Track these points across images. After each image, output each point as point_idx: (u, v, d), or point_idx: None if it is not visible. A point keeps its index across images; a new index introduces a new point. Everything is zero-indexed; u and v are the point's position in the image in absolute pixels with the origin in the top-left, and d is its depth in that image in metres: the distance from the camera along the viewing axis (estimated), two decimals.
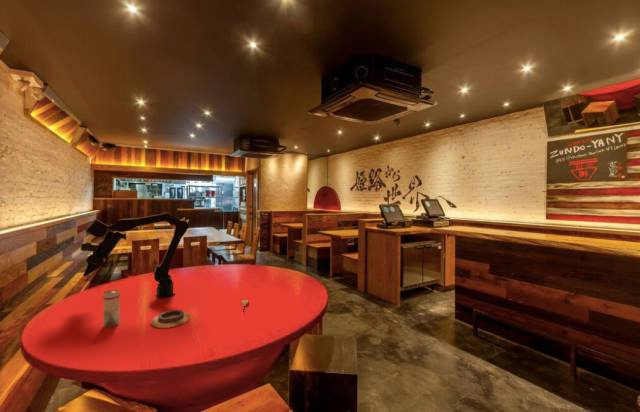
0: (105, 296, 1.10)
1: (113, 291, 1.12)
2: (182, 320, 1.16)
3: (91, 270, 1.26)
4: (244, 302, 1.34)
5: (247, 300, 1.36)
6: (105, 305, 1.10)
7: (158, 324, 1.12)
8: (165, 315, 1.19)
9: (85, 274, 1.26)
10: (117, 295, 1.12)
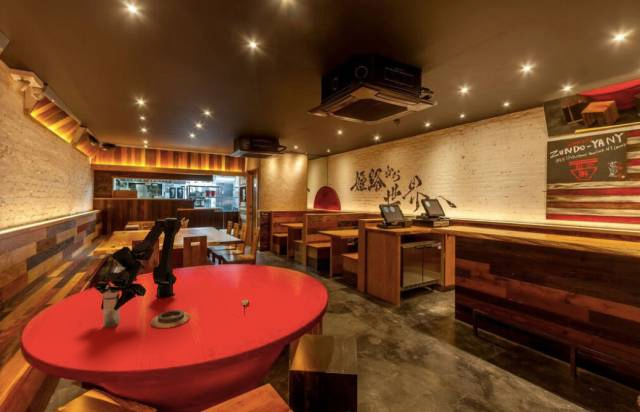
0: (105, 296, 1.10)
1: (113, 291, 1.12)
2: (182, 320, 1.16)
3: (124, 302, 1.14)
4: (244, 302, 1.34)
5: (247, 300, 1.36)
6: (105, 305, 1.10)
7: (158, 324, 1.12)
8: (165, 315, 1.19)
9: (117, 307, 1.11)
10: (117, 295, 1.12)
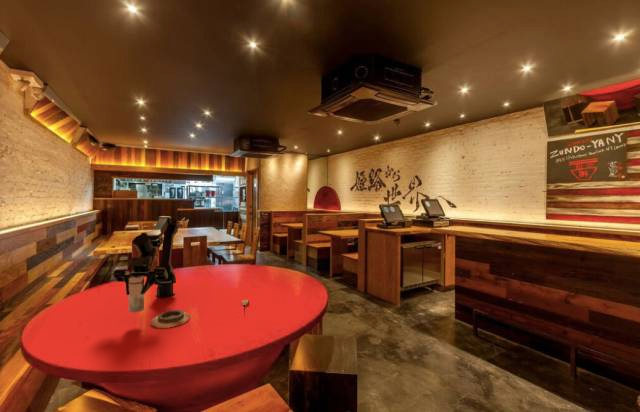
0: (132, 281, 1.10)
1: (138, 276, 1.13)
2: (182, 320, 1.16)
3: (149, 287, 1.15)
4: (244, 302, 1.35)
5: (247, 300, 1.36)
6: (132, 290, 1.10)
7: (158, 324, 1.12)
8: (165, 315, 1.19)
9: (144, 291, 1.12)
10: (143, 280, 1.13)
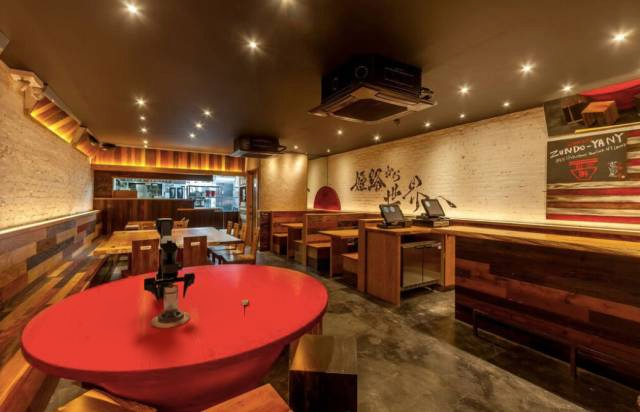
0: (170, 291, 1.15)
1: (172, 286, 1.17)
2: (182, 320, 1.16)
3: None
4: (244, 302, 1.35)
5: (247, 300, 1.36)
6: (170, 299, 1.15)
7: (158, 324, 1.12)
8: None
9: None
10: (177, 288, 1.18)
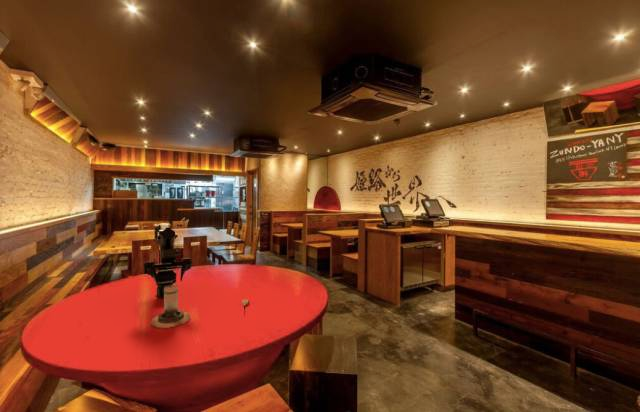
0: (170, 290, 1.15)
1: (172, 286, 1.18)
2: (182, 320, 1.16)
3: (183, 274, 1.29)
4: (244, 301, 1.35)
5: (247, 300, 1.37)
6: (170, 299, 1.15)
7: (158, 324, 1.12)
8: None
9: (182, 278, 1.27)
10: (177, 288, 1.18)
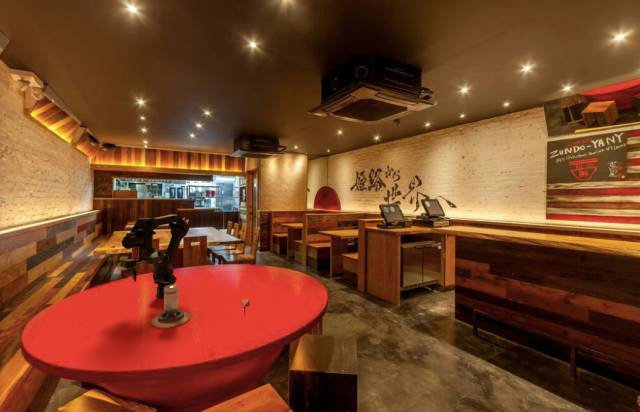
0: (170, 290, 1.15)
1: (172, 286, 1.18)
2: (182, 320, 1.16)
3: None
4: (244, 301, 1.35)
5: None
6: (170, 299, 1.15)
7: (158, 324, 1.12)
8: None
9: None
10: (177, 288, 1.18)
